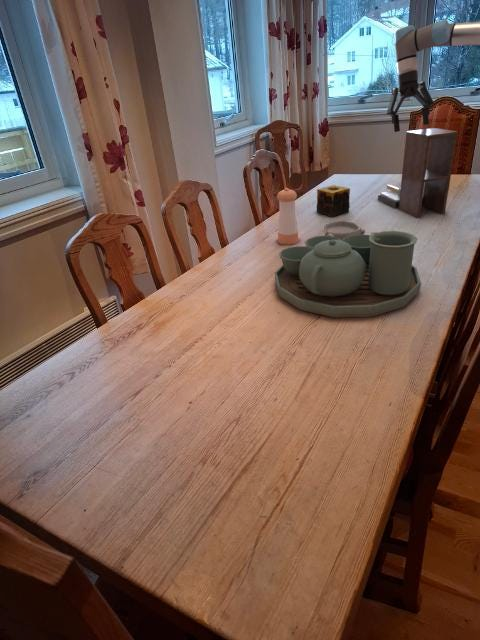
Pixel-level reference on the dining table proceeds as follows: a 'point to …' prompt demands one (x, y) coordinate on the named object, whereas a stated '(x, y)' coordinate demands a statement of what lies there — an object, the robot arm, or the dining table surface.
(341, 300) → the tea set
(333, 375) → the dining table surface
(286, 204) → the pepper shaker
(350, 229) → the dish
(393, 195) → the whiteboard
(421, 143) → the shelf
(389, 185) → the scoop
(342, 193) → the candle
